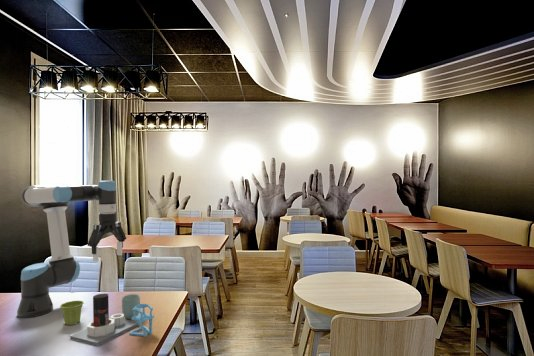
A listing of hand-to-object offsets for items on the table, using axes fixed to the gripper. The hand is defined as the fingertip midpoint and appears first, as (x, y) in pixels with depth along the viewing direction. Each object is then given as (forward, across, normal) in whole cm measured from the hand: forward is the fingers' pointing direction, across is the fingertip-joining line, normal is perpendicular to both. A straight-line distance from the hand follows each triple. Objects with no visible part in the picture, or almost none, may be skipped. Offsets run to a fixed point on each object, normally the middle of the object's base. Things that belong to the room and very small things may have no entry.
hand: (108, 258), depth 168 cm
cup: (+29, +5, -9) cm, 31 cm away
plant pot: (+29, -10, +12) cm, 33 cm away
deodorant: (+28, -14, -11) cm, 33 cm away
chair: (+29, -6, -27) cm, 40 cm away
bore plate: (+29, -11, -11) cm, 33 cm away
